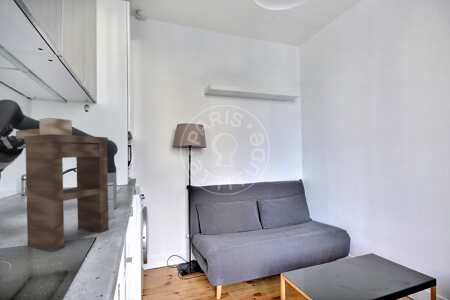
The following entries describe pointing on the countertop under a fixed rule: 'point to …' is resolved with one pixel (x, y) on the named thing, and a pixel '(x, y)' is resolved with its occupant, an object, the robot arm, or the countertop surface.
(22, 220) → the countertop surface
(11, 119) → the robot arm
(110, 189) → the syrup box
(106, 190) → the shelf
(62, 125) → the mallet
